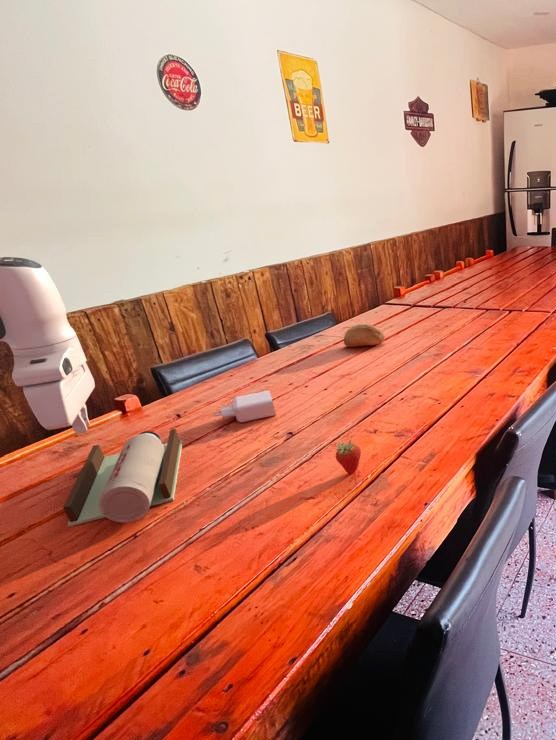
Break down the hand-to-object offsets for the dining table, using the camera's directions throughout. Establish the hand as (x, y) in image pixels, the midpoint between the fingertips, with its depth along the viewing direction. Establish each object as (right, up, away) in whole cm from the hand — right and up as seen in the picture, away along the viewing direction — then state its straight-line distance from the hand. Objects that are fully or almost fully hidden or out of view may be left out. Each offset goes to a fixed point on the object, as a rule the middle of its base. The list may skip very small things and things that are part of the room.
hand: (83, 430), depth 92 cm
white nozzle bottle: (+7, +2, +48) cm, 48 cm away
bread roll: (+28, +29, +99) cm, 107 cm away
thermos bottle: (+5, -14, +4) cm, 15 cm away
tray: (-5, -11, +21) cm, 24 cm away
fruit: (+43, -10, +19) cm, 48 cm away
